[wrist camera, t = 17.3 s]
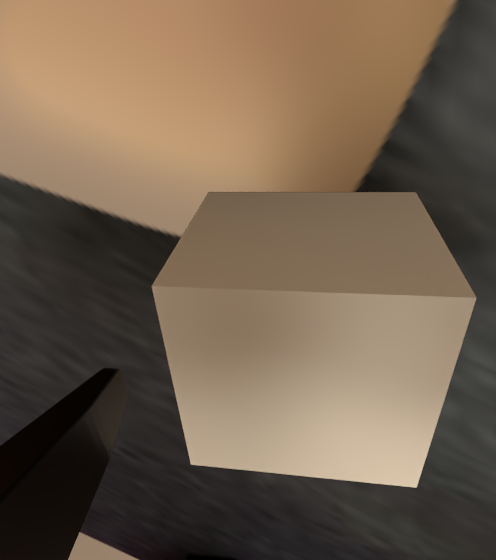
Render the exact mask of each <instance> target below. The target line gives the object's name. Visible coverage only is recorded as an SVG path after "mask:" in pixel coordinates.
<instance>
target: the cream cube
mask: <svg viewBox="0 0 496 560" xmlns="http://www.w3.org/2000/svg"><path fill="white" fill-rule="evenodd" d="M152 291H153V295H154V300H155V304H156V309H157V313H158V318H159V322H160V327H161V331H162V336H163V340H164V345H165V349H166V354H167V359H168V363H169V368H170V372H171V377H172V381H173V386H174V390H175V395H176V399H177V404H178V408H179V413H180V417H181V422H182V426H183V431H184V435H185V440H186V444H187V449H188V454H189V458H190V463H191V465H200V466H210V467H220V468H230V469H240V470H249V471H259V472H269V473H279V474H288V475H298V476H308V477H318V478H328V479H337V480H347V481H357V482H367V483H376V484H386V485H396V486H406V487H416V488H417V484H418V481H419V478H420V475H421V472H422V469H423V466H424V462H425V459H426V456H427V453H428V450H429V447H430V443H431V440H432V437H433V434H434V431H435V428H436V424H437V421H438V418H439V415H440V412H441V409H442V405H443V402H444V399H445V396H446V393H447V390H448V387H449V383H450V380H451V377H452V374H453V371H454V368H455V364H456V361H457V358H458V355H459V352H460V349H461V345H462V342H463V339H464V336H465V333H466V330H467V326H468V323H469V320H470V317H471V314H472V311H473V308H474V304H475V301H476V296H475V294H474V293H473V291H472V289H471V287H470V286H469V284H468V282H467V280H466V279H465V277H464V275H463V273H462V272H461V270H460V268H459V266H458V265H457V263H456V261H455V260H454V258H453V256H452V254H451V253H450V251H449V249H448V247H447V246H446V244H445V242H444V240H443V239H442V237H441V235H440V233H439V232H438V230H437V228H436V227H435V225H434V223H433V221H432V220H431V218H430V216H429V214H428V213H427V211H426V209H425V207H424V206H423V204H422V202H421V200H420V199H419V197H418V195H417V193H416V192H209V193H208V194H207V196H206V198H205V199H204V201H203V203H202V204H201V206H200V207H199V209H198V211H197V213H196V214H195V216H194V217H193V219H192V221H191V222H190V224H189V225H188V227H187V229H186V230H185V232H184V234H183V235H182V237H181V239H180V240H179V242H178V244H177V245H176V247H175V248H174V250H173V252H172V253H171V255H170V257H169V258H168V260H167V262H166V263H165V265H164V267H163V268H162V270H161V271H160V273H159V275H158V276H157V278H156V280H155V281H154V283H153V285H152Z"/></svg>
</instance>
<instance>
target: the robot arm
mask: <svg viewBox="0 0 496 560" xmlns="http://www.w3.org/2000/svg"><path fill="white" fill-rule="evenodd" d="M127 399H128V391H127V387H126V384H125V381H124V378H123V375H122V372H121V371H120V370H119V369H113V368H104V369H102V370H100V371H99V372H97V373H96V374H95V375H93V376H92V377H91V378H89V379H88V380H87V381H86V382H84V383H83V384H82V385H80V386H79V387H78V388H76V389H75V390H74V391H72V392H71V393H70V394H68V395H67V396H66V397H64V398H63V399H62V400H60V401H59V402H58V403H56V404H55V405H54V406H52V407H51V408H50V409H48V410H47V411H46V412H44V413H43V414H42V415H41V416H39V417H38V418H37V419H35V420H34V421H33V422H31V423H30V424H29V425H27V426H26V427H25V428H23V429H22V430H21V431H19V432H18V433H17V434H15V435H14V436H13V437H11V438H10V439H9V440H7V441H6V442H5V443H3V444H2V445H1V446H0V560H68V558H69V556H70V553H71V551H72V548H73V546H74V544H75V541H76V539H77V536H78V534H79V532H80V529H81V527H82V524H83V522H84V520H85V517H86V515H87V512H88V510H89V508H90V505H91V503H92V500H93V498H94V496H95V493H96V491H97V488H98V486H99V484H100V481H101V479H102V476H103V474H104V472H105V469H106V467H107V464H108V462H109V459H110V456H111V453H112V450H113V447H114V443H115V440H116V437H117V433H118V430H119V427H120V423H121V420H122V417H123V413H124V410H125V406H126V403H127ZM186 560H208V559H200V558H193V557H187V558H186Z"/></svg>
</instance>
